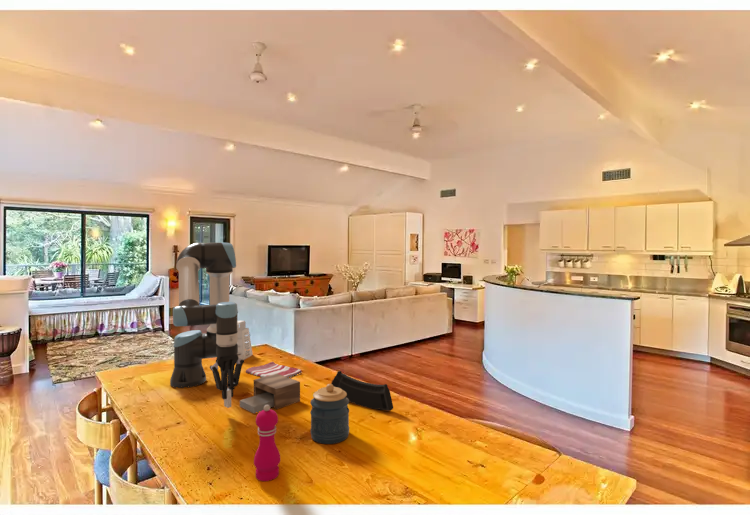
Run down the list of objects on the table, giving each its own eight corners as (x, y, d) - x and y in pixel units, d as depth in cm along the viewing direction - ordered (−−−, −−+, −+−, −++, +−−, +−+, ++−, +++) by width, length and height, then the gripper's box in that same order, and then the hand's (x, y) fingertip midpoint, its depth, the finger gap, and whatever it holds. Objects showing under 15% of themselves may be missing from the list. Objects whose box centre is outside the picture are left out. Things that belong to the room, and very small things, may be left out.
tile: (239, 407, 168) (239, 400, 168) (277, 395, 182) (277, 388, 181) (254, 414, 161) (254, 407, 161) (292, 401, 175) (292, 394, 175)
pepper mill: (256, 468, 122) (256, 400, 122) (282, 467, 123) (281, 399, 122) (251, 483, 115) (250, 410, 114) (278, 481, 116) (278, 409, 115)
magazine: (399, 389, 162) (342, 354, 179) (394, 392, 159) (337, 356, 176) (388, 428, 165) (333, 390, 182) (383, 431, 163) (328, 393, 180)
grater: (252, 354, 244) (252, 320, 243) (243, 359, 234) (243, 323, 233) (235, 353, 246) (235, 319, 245) (226, 358, 236) (225, 322, 235)
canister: (318, 448, 135) (318, 393, 134) (305, 432, 146) (305, 381, 145) (355, 439, 141) (355, 387, 140) (340, 424, 152) (340, 375, 151)
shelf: (253, 399, 176) (253, 379, 176) (277, 391, 185) (276, 373, 184) (276, 409, 165) (276, 389, 165) (300, 401, 174) (300, 381, 174)
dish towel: (271, 365, 225) (271, 360, 224) (303, 374, 211) (303, 368, 211) (245, 373, 211) (245, 368, 211) (276, 383, 197) (276, 377, 197)
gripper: (215, 349, 150) (216, 414, 152) (248, 342, 160) (248, 404, 162) (205, 345, 155) (206, 408, 157) (237, 339, 165) (238, 398, 167)
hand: (227, 406), depth 159 cm, fingers closed
